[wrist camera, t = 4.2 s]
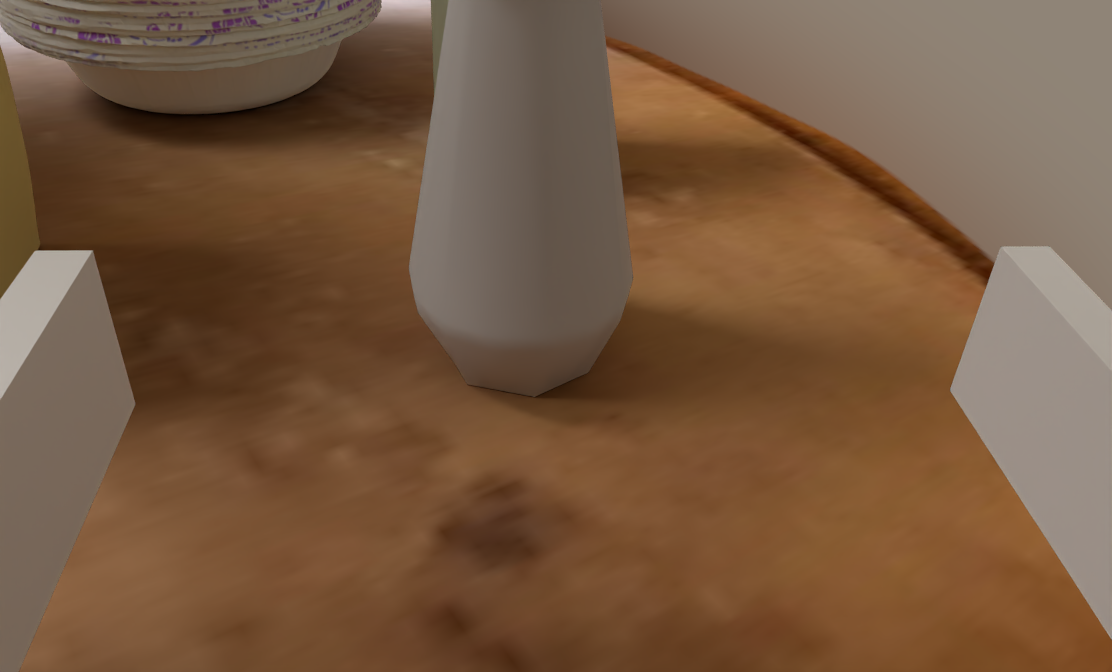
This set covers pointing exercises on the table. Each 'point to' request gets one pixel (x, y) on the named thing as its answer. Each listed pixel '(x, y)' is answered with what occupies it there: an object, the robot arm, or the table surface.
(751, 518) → the table surface
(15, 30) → the paper bowls
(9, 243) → the cheese
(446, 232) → the salt shaker
